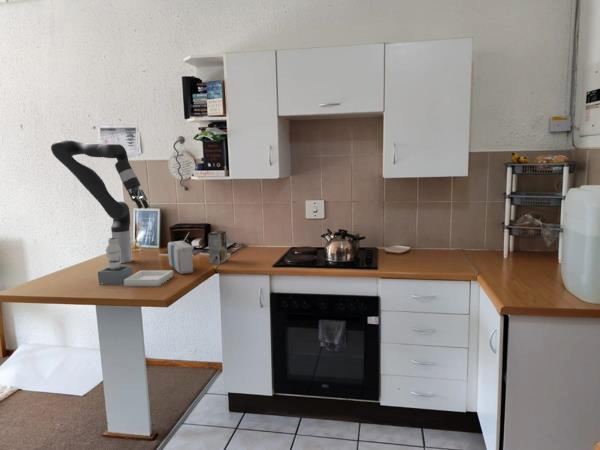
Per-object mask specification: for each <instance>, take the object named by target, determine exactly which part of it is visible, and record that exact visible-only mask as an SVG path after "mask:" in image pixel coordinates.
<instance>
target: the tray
mask: <svg viewBox="0 0 600 450" xmlns="http://www.w3.org/2000/svg"><path fill="white" fill-rule="evenodd" d="M173 277H174V270H170V269H169V270H165V269H164V270H163V269H162V270H160V269H158V270H139V271H137V272H135V273H133V275H131V276H130V277H128V278H126V279H124V284H123V287H160V286H162V285H163V284H165V283H166V282H167V280H168V281H169V280H171V279H172V278H173ZM170 278H171V279H170ZM164 282H165V283H164ZM162 283H163V284H162ZM161 284H162V285H161ZM159 285H160V286H159Z"/></svg>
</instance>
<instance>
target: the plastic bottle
mask: <svg viewBox="0 0 600 450" xmlns="http://www.w3.org/2000/svg"><path fill="white" fill-rule="evenodd" d="M107 240H108V241H107V243H108V245H107V246H106V249H105V252H106V257H107V262H108V263H107V264H108V267H109V271H121V270H122V267H121V266H122V263H121V248H120V247H119V245H118V244H117V238H112V237H109V238H108V239H107Z"/></svg>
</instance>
